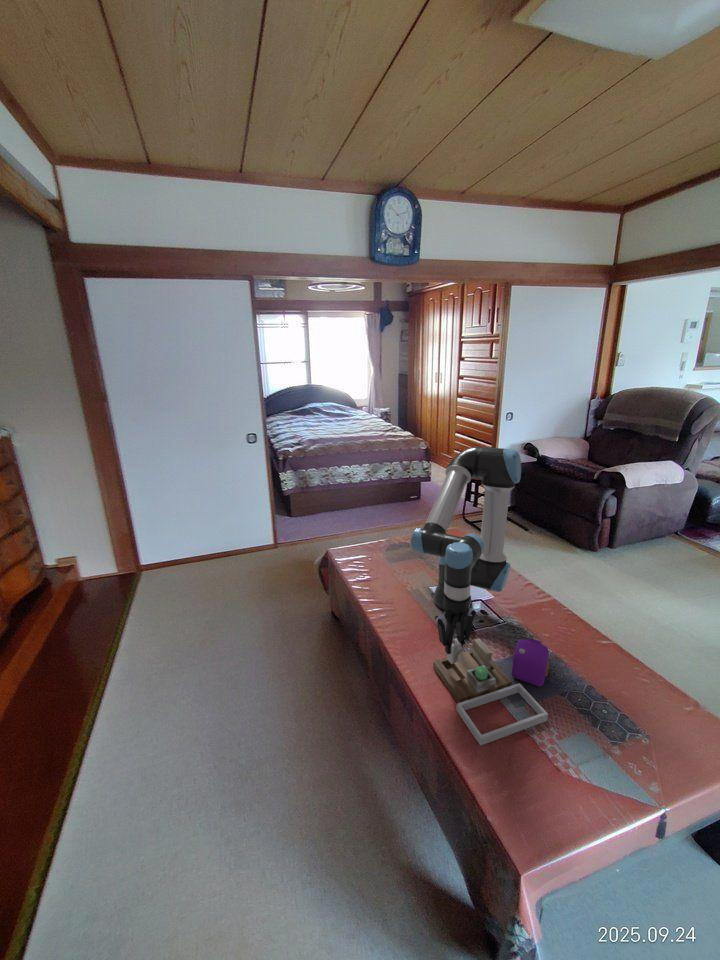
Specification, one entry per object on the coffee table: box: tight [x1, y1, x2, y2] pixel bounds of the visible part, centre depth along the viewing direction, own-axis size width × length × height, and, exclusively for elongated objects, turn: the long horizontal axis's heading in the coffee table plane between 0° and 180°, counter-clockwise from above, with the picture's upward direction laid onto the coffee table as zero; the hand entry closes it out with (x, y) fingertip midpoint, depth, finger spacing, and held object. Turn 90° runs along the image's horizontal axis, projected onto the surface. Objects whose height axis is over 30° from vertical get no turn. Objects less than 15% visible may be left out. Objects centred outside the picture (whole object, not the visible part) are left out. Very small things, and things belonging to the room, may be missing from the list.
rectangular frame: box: [456, 683, 549, 747], centre depth 114 cm, size 22×12×2 cm, turn 109°
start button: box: [475, 666, 488, 682], centre depth 122 cm, size 4×4×4 cm
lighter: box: [444, 645, 464, 663], centre depth 126 cm, size 7×2×8 cm, turn 19°
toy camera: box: [511, 638, 550, 687], centre depth 129 cm, size 11×14×10 cm
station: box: [432, 638, 513, 704], centre depth 127 cm, size 18×16×8 cm
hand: (453, 659), depth 127 cm, fingers closed on lighter, 2 cm apart
